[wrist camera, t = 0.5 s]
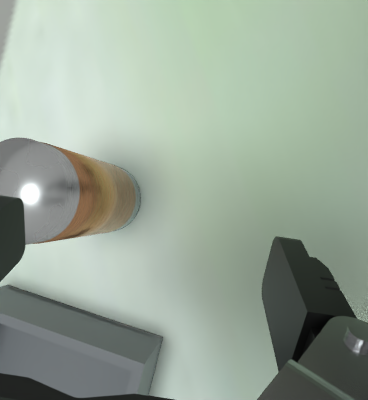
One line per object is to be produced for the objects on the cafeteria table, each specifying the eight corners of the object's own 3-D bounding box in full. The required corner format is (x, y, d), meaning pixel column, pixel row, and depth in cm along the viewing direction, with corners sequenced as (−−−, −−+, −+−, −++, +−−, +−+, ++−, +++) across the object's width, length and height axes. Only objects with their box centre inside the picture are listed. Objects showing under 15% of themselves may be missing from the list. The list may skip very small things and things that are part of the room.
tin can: (120, 152, 32) (35, 115, 19) (153, 210, 31) (86, 210, 19) (67, 187, 33) (-48, 173, 20) (98, 243, 32) (-2, 266, 20)
